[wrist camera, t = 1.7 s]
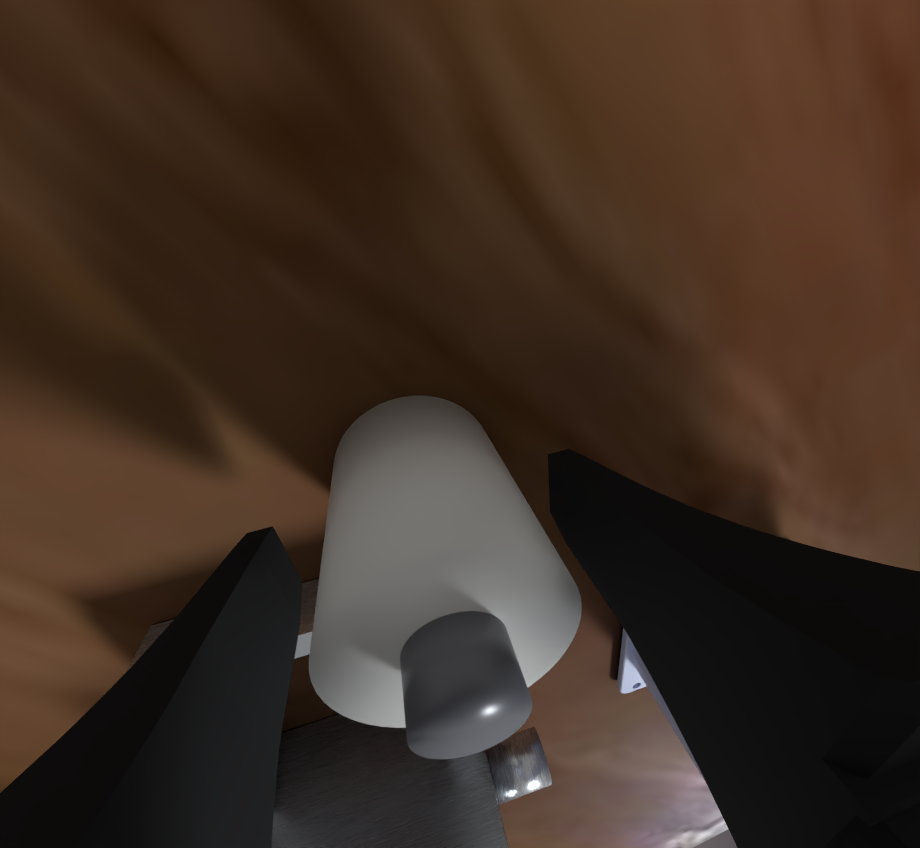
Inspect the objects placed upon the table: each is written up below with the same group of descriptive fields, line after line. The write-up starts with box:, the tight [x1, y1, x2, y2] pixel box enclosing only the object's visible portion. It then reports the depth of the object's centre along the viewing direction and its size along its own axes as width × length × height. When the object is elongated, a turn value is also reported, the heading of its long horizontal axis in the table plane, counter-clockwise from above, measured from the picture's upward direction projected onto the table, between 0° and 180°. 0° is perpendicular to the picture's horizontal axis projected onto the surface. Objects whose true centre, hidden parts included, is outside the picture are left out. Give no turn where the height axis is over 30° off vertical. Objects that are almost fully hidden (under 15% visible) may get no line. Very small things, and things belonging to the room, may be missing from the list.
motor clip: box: [126, 579, 552, 848], centre depth 13 cm, size 12×14×7 cm
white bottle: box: [309, 395, 582, 759], centre depth 9 cm, size 5×5×7 cm
